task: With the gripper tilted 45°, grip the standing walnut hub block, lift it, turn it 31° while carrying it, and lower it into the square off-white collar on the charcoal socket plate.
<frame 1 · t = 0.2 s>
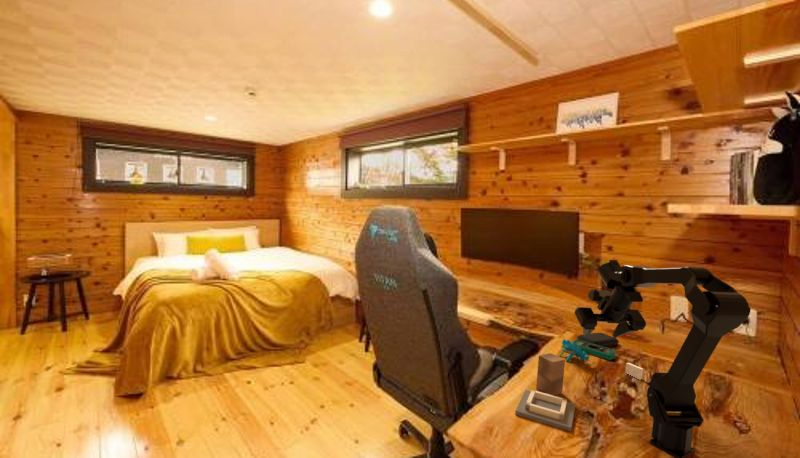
hand: (599, 336, 116), 15 cm above the table, tool tilted 35°, fingers open, 9 cm apart
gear: (573, 360, 134), on the table
eraser: (633, 377, 123), on the table
hub block: (549, 391, 110), on the table
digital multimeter: (591, 353, 143), on the table
socket plate: (546, 410, 99), on the table
carrying case or bag: (596, 343, 154), on the table
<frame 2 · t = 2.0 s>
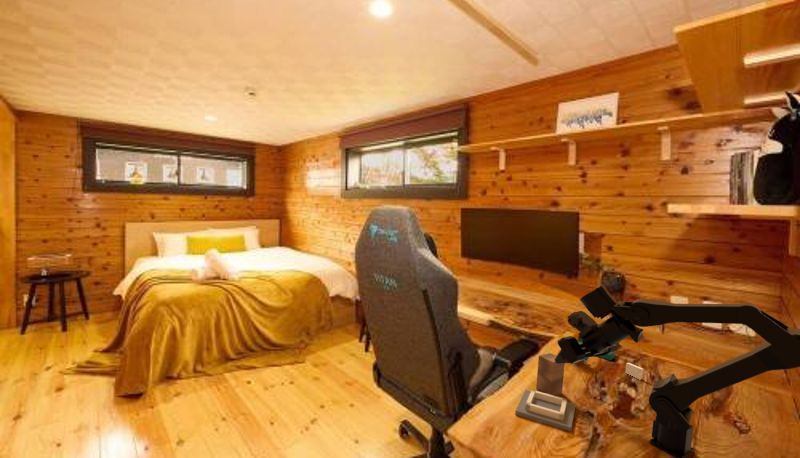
hand: (566, 358, 105), 11 cm above the table, tool tilted 45°, fingers open, 9 cm apart
nothing on the table moved.
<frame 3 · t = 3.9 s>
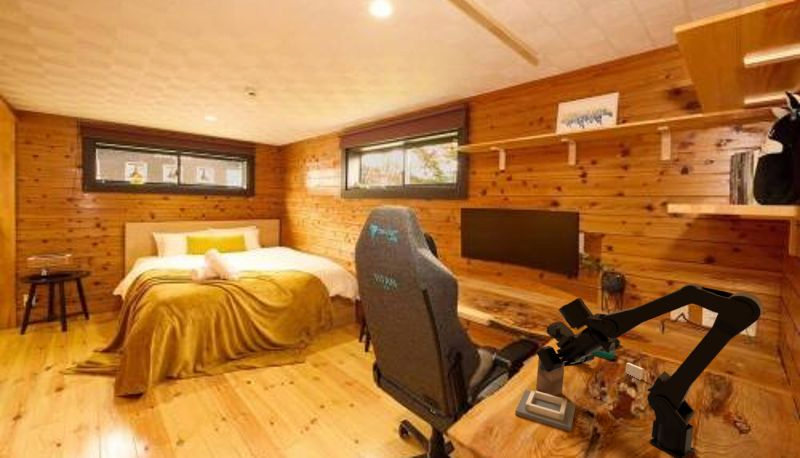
hand: (546, 366, 111), 7 cm above the table, tool tilted 45°, fingers closed on hub block, 5 cm apart
hub block: (548, 390, 110), on the table, touching gripper
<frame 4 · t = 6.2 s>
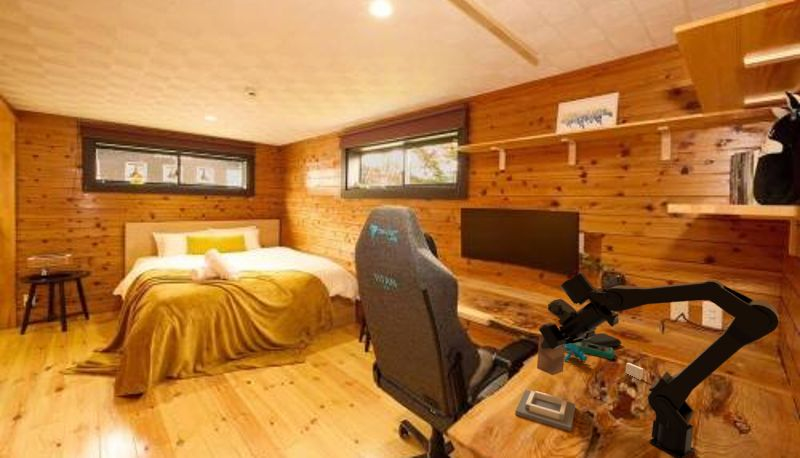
hand: (547, 345, 109), 13 cm above the table, tool tilted 45°, fingers closed on hub block, 5 cm apart
hub block: (549, 369, 108), point 7 cm above the table, touching gripper
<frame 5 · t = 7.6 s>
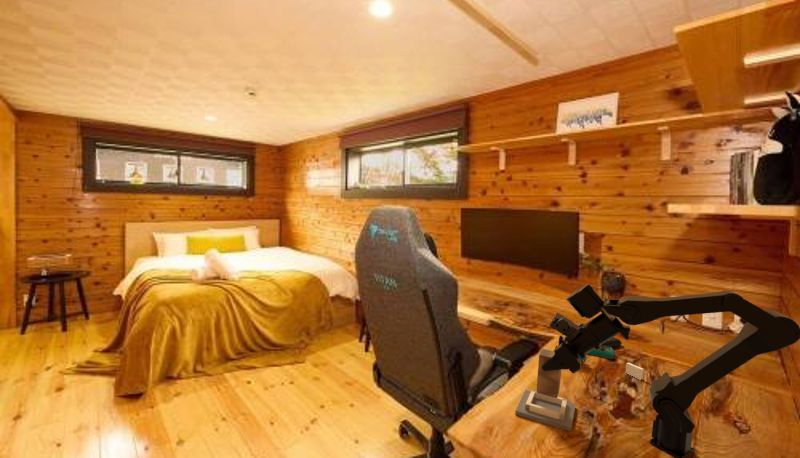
hand: (544, 365, 99), 12 cm above the table, tool tilted 45°, fingers closed on hub block, 5 cm apart
hub block: (548, 391, 99), point 5 cm above the table, touching gripper
when the fingers open (9 cm above the table, at t = 8.6 s): hub block drops 1 cm, resting on socket plate.
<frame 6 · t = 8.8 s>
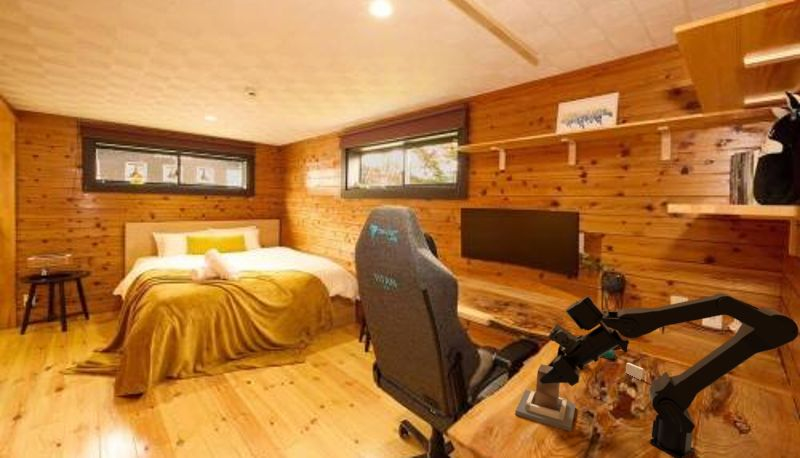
hand: (543, 376, 99), 9 cm above the table, tool tilted 45°, fingers open, 7 cm apart
hub block: (546, 407, 99), point 1 cm above the table, touching socket plate
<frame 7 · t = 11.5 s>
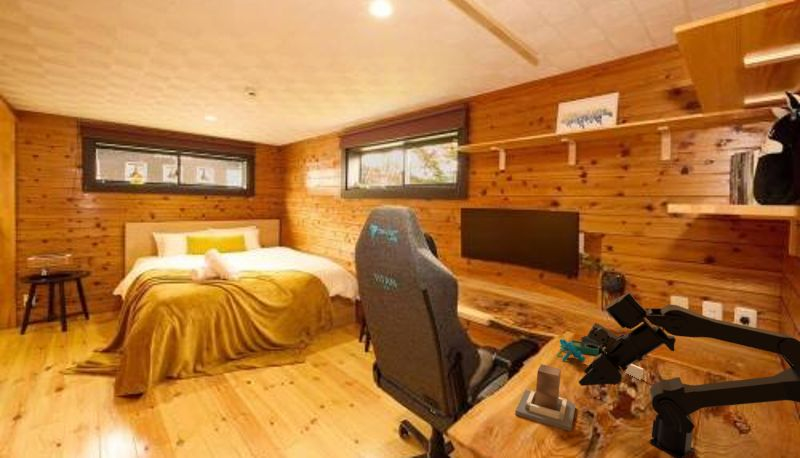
hand: (582, 377, 95), 11 cm above the table, tool tilted 45°, fingers open, 9 cm apart
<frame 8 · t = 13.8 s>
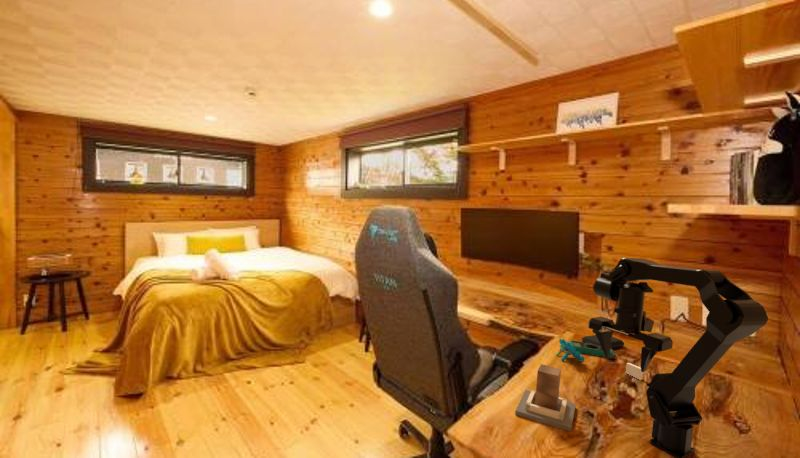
hand: (624, 364, 99), 13 cm above the table, tool pointing down, fingers open, 9 cm apart
at the end: hub block 0.0 cm off-centre on the socket plate, point 1.0 cm above the socket plate's base; hub block tilted 0°; the gripper is holding nothing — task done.
